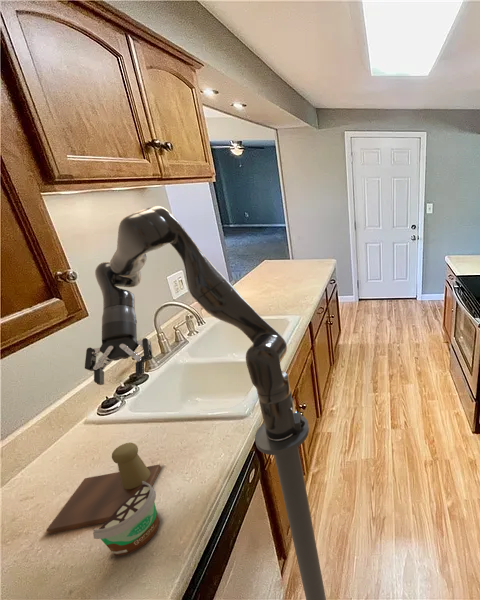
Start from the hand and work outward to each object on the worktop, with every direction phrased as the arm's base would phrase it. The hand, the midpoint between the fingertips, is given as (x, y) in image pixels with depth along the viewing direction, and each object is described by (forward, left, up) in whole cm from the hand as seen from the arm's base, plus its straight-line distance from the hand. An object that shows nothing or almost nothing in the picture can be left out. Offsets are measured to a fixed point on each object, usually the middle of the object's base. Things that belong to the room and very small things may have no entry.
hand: (120, 380), depth 88 cm
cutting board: (+3, +14, -26) cm, 30 cm away
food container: (-10, +27, -26) cm, 39 cm away
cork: (-2, +11, -24) cm, 27 cm away
